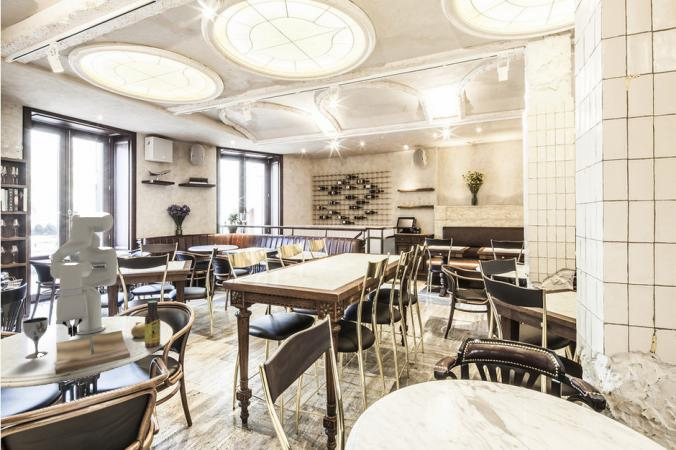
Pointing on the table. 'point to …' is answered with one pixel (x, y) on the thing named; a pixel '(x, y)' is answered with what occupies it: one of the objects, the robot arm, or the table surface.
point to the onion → (138, 330)
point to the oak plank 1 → (73, 349)
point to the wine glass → (35, 333)
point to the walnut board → (91, 359)
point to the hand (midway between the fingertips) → (72, 335)
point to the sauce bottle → (152, 325)
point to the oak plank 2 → (107, 341)
